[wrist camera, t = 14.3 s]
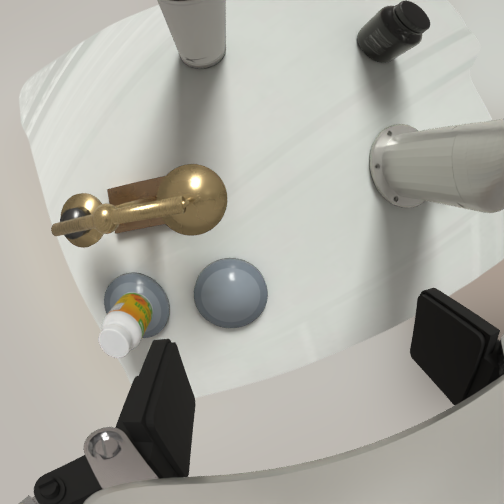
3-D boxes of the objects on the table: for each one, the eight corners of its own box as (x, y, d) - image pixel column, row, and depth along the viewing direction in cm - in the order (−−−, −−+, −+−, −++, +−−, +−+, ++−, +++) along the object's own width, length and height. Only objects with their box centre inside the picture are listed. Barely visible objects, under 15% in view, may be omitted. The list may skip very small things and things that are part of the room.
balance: (224, 166, 35) (219, 152, 17) (231, 212, 36) (232, 242, 19) (88, 194, 34) (3, 212, 16) (96, 236, 35) (18, 278, 18)
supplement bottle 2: (398, 65, 32) (443, 41, 20) (362, 62, 32) (404, 31, 20) (386, 30, 30) (425, 1, 19) (350, 26, 30) (385, -11, 18)
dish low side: (160, 268, 37) (158, 271, 36) (176, 331, 40) (175, 335, 39) (99, 277, 37) (95, 280, 36) (118, 336, 39) (116, 340, 38)
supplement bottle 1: (160, 317, 38) (143, 356, 28) (132, 329, 38) (110, 367, 29) (141, 284, 36) (117, 317, 27) (112, 299, 36) (84, 332, 27)
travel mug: (195, 78, 31) (166, -7, 12) (172, 47, 29) (133, -41, 10) (235, 57, 31) (244, -38, 11) (211, 26, 29) (202, -70, 10)
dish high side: (261, 252, 38) (262, 255, 37) (270, 318, 40) (271, 322, 39) (188, 263, 37) (187, 266, 36) (202, 328, 40) (202, 332, 39)
